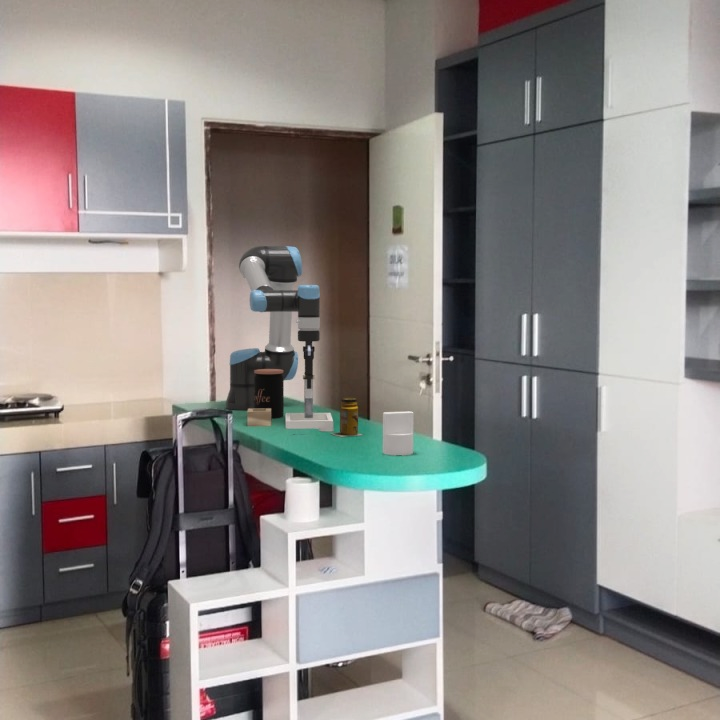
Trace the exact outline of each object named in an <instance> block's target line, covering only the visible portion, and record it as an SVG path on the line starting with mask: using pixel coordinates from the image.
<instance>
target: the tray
mask: <svg viewBox="0 0 720 720" xmlns="http://www.w3.org/2000/svg"><path fill="white" fill-rule="evenodd" d="M284 413H285V415H284V416H285V429H286V430H288V429H289V430H297V429H298V430H299V429H301V430H302V429H306V430H307V429H311V430H313V429H317V430H318V431H319V432H334V419H333V416H332V413H331V412H313V418H304V412H284Z"/></svg>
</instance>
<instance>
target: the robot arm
mask: <svg viewBox="0 0 720 720" xmlns="http://www.w3.org/2000/svg"><path fill="white" fill-rule="evenodd" d="M238 268H239V271H240V274H241V275H242V277H243V278H245V279H246V281H247V284H248V286H249V289H250V293H249V309H250V310H251V311H252V312H255V313H256V312H260V313H269V331H268V343H267V345H265V346H264V351H261V350H260V348H256V347H255V348H244V349H238V350H234V351H232V352H231V353H230V355H229V392H228V393H227V396H226V397H227V398H226V400H225V408H226V409H228V410H235V411H236V410H237V411H243V410H245V411H248V409H254V377H255V375H256V374H255V373H254V370H258V369H280V370H283V374H282V376H283V378H284V381H291V380H293V379H294V378H295V377H296V374H297V371H298V367H299V366H298V365H299V354H298V352H297V351H295V347H294V346H293V345H292V344H291V341H292V339H291V336H292V315H293V314H292V313H294V312H295V313H297V319H296V320H295V322H296V323H297V329H299V330H298V331H297V341H299V342H305V343H304V345H305V346H304V345H303V346H302V353H303V359H304V372H303V373H304V375H305V377H303V376H302V379H303V380H304V379H305V398H313V399H314V379H313V375H314V371H313V370H314V359H315V351H316V350H315V349H316V348H315V346H313V342H319V341H320V339H321V338H320V335H321V334H320V332H321V331H320V330H319V329H320V327H321V325H320V324H321V322H320V321H321V319H320V313H321V311H320V302H321V301H320V300H321V299H320V298H321V293H320V286H319V285H317V284H300V285H298V286H297V290H296V289H294V285H295V284H296V283H297V282H298V277H299V278H300V277H302V273H303V261H302V256H301V253H300V251H299V248H297V247H295V246H288V245H257V246H253V247H251V248H249V249H248V250H246V251H245V252H244V253H243V254H242V255H241V257H240V259H239V262H238ZM293 289H294V290H293Z"/></svg>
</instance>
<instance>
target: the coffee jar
mask: <svg viewBox="0 0 720 720" xmlns="http://www.w3.org/2000/svg"><path fill="white" fill-rule="evenodd" d="M254 373H255V374H256V375H255V377H254V409H257V408H271V420H272V419H281V418H283V417H284V416H285V415H284V413H285V411H284V407H285V406H284V404H285V403H284V392H285V391H284V390H285V389H284V387H285V386H284V381H285V380H284V378H283V376H282V374H283V370H280V369H258V370H254Z"/></svg>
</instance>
